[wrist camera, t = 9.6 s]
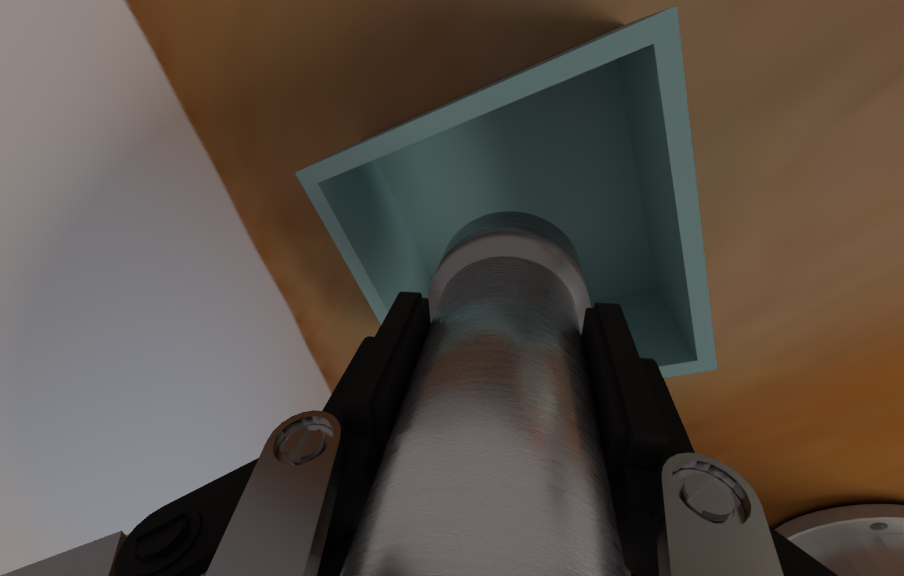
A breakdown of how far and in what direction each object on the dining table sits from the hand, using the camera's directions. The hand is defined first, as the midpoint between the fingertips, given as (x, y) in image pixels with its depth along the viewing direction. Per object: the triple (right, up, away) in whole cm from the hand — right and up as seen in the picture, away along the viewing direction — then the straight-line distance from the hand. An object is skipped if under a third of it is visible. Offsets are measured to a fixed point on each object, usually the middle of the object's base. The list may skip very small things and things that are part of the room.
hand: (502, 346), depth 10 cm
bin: (+2, +5, +9) cm, 10 cm away
